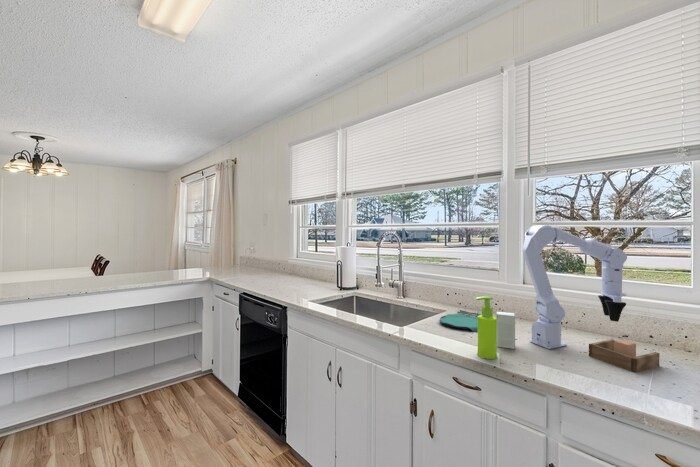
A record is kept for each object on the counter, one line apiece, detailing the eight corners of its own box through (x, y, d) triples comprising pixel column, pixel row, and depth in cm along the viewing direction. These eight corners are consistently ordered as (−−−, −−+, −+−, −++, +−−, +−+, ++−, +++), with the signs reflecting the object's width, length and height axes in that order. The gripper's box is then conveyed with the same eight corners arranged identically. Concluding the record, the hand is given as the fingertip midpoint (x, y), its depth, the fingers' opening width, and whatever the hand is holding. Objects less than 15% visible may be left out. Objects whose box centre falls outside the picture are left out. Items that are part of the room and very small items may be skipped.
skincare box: (514, 345, 115) (514, 312, 115) (515, 349, 111) (515, 316, 111) (496, 342, 117) (496, 311, 117) (496, 346, 114) (496, 314, 113)
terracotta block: (627, 363, 99) (628, 345, 99) (613, 358, 103) (613, 340, 103) (635, 361, 100) (636, 343, 100) (621, 357, 104) (621, 339, 104)
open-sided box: (634, 372, 93) (635, 359, 93) (588, 355, 105) (588, 343, 105) (659, 366, 97) (659, 353, 97) (612, 350, 109) (612, 339, 109)
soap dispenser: (471, 352, 109) (471, 295, 108) (490, 351, 109) (490, 294, 109) (480, 359, 103) (480, 299, 102) (500, 358, 103) (500, 298, 103)
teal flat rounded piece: (432, 325, 139) (432, 320, 139) (456, 312, 162) (456, 307, 162) (479, 335, 126) (479, 330, 126) (498, 319, 150) (498, 314, 150)
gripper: (633, 284, 105) (632, 325, 105) (619, 278, 118) (618, 314, 118) (606, 283, 108) (606, 322, 108) (596, 277, 121) (595, 312, 121)
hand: (611, 318), depth 113 cm, fingers open, 7 cm apart
